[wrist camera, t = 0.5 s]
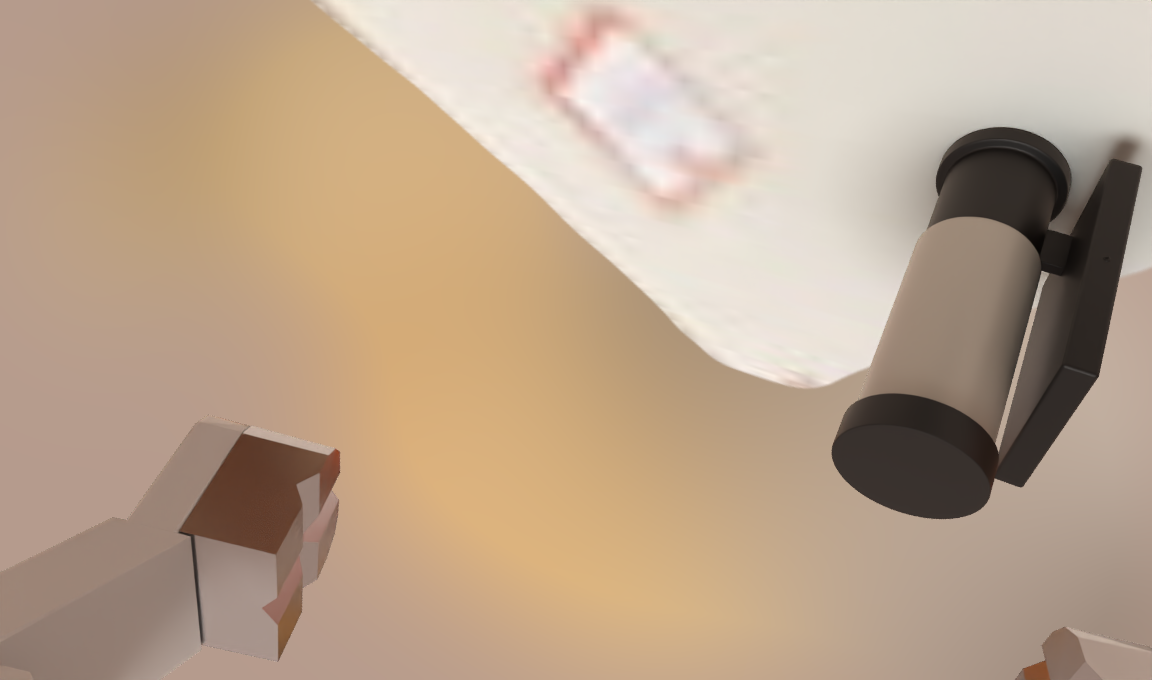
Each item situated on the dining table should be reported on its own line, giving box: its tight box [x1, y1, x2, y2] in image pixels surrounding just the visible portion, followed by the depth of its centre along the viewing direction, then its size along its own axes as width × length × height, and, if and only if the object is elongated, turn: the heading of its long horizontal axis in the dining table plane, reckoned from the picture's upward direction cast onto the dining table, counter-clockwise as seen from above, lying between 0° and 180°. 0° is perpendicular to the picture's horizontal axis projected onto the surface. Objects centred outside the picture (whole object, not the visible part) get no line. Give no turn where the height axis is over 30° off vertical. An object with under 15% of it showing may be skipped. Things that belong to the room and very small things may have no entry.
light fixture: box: [832, 128, 1142, 519], centre depth 59 cm, size 12×11×25 cm
